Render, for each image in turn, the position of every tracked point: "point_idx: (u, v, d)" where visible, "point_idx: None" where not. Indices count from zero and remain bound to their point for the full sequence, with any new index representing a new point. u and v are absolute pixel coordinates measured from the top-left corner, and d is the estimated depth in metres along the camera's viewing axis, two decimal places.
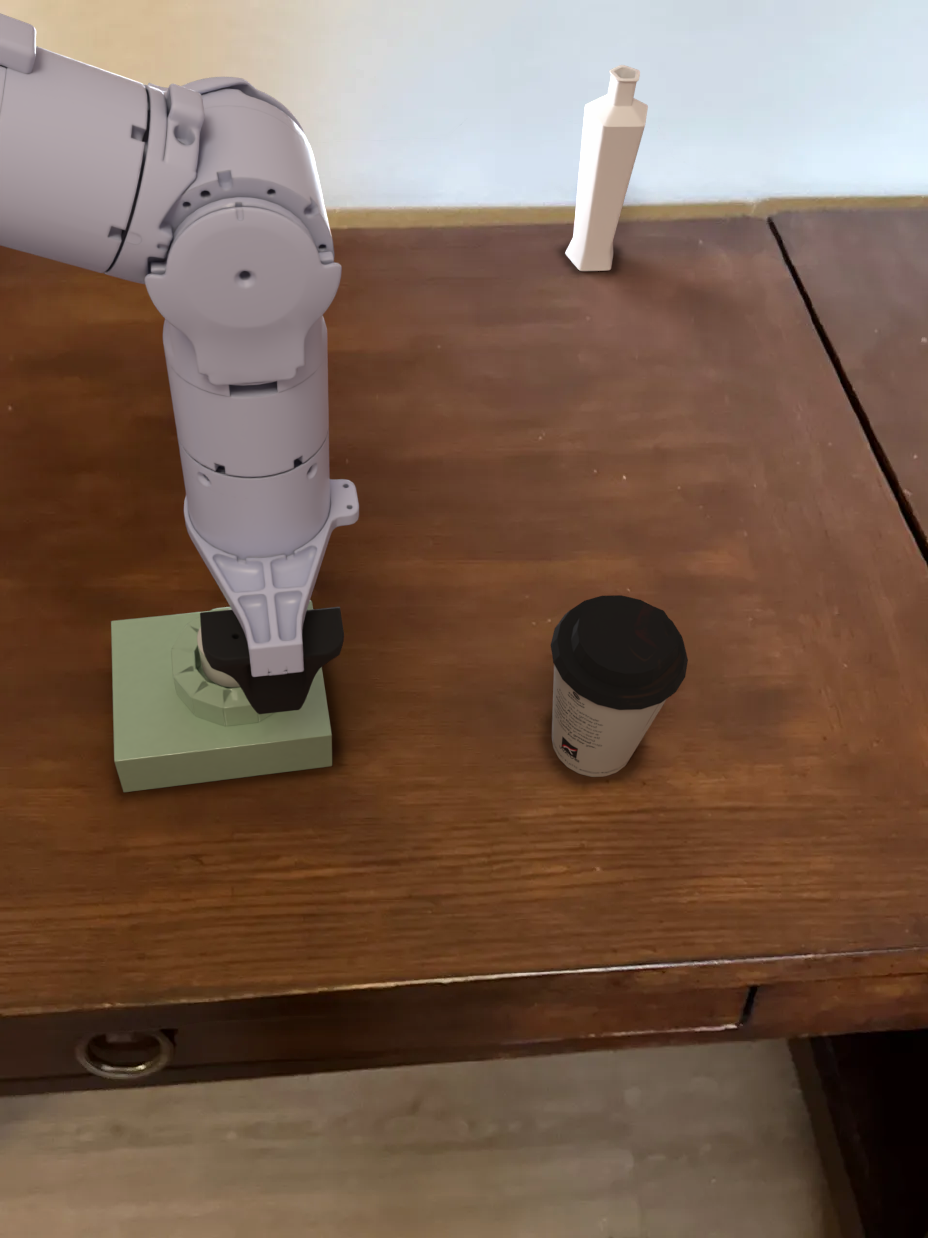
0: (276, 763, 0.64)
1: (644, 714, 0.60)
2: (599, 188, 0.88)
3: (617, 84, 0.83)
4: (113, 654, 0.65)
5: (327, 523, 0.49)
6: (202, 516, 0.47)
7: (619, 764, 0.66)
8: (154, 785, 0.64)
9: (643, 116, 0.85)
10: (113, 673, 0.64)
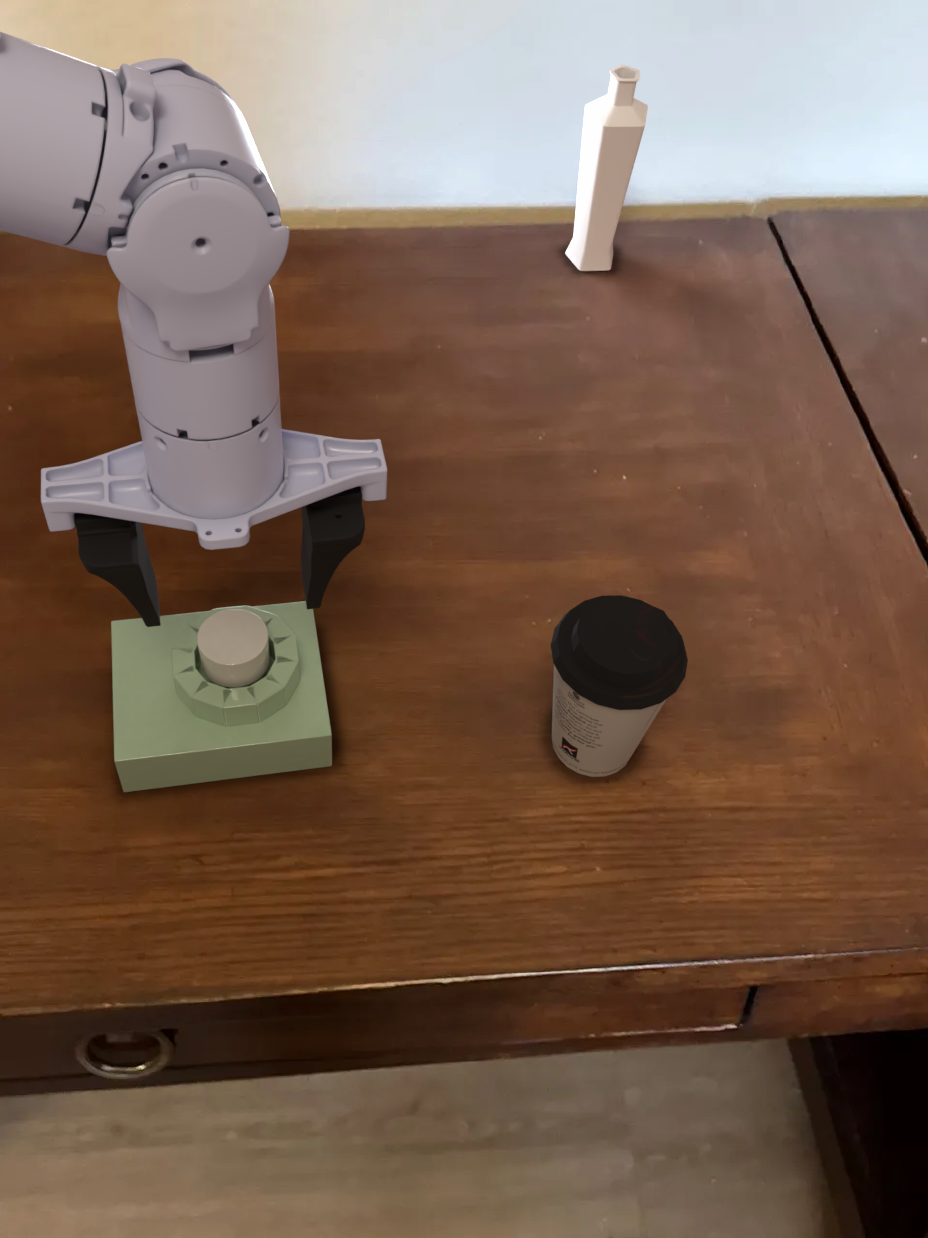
0: (276, 763, 0.64)
1: (644, 714, 0.60)
2: (599, 188, 0.88)
3: (617, 84, 0.83)
4: (113, 654, 0.65)
5: (187, 517, 0.50)
6: None
7: (619, 764, 0.66)
8: (154, 785, 0.64)
9: (643, 116, 0.85)
10: (113, 673, 0.64)
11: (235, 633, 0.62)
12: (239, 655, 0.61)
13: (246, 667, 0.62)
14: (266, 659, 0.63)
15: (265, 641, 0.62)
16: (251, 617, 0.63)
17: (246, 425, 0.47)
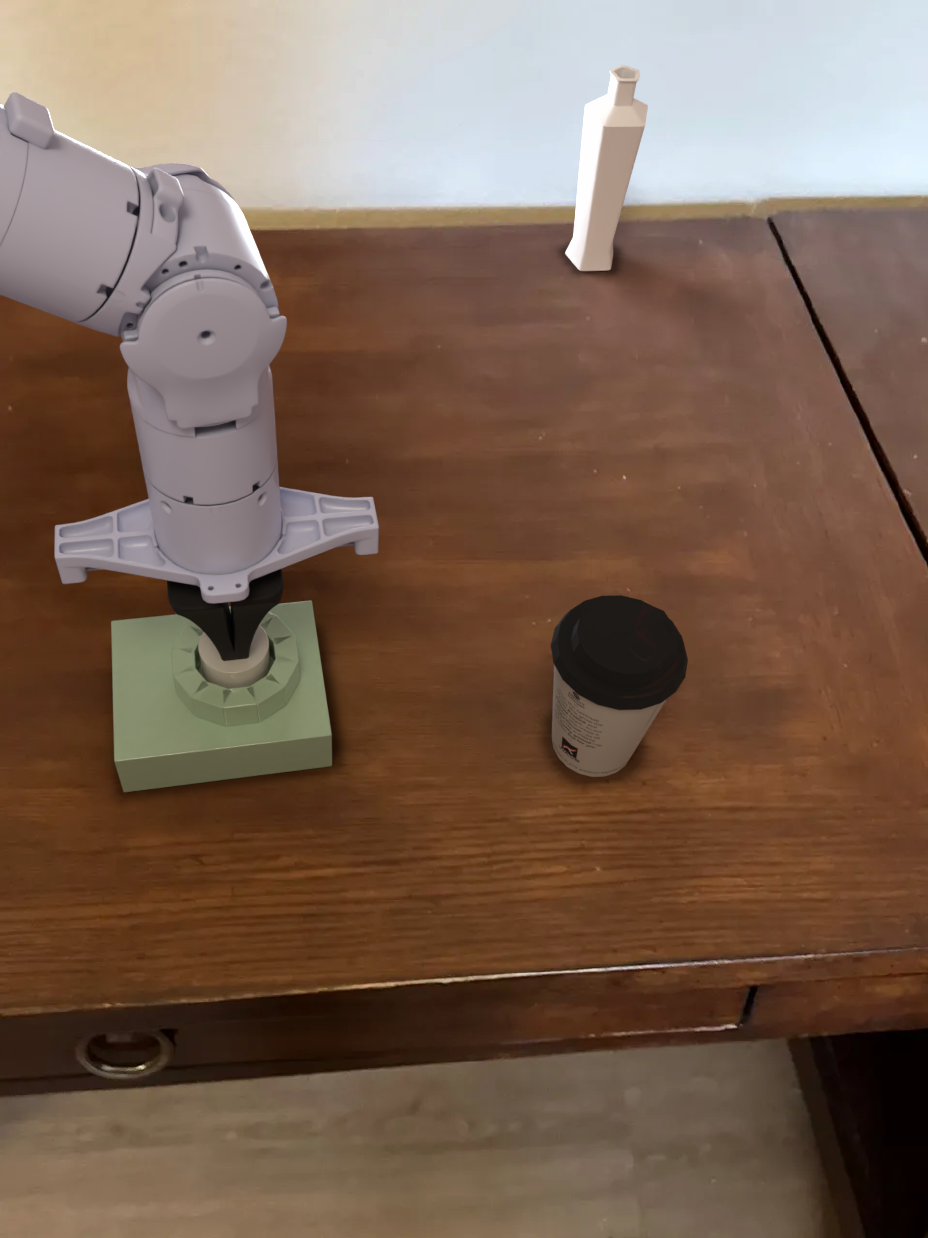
0: (276, 763, 0.64)
1: (644, 714, 0.60)
2: (599, 188, 0.88)
3: (617, 84, 0.83)
4: (113, 654, 0.65)
5: (191, 572, 0.54)
6: None
7: (619, 764, 0.66)
8: (154, 785, 0.64)
9: (643, 116, 0.85)
10: (113, 673, 0.64)
11: None
12: (240, 663, 0.62)
13: (247, 675, 0.62)
14: (267, 667, 0.63)
15: (265, 649, 0.63)
16: None
17: (247, 490, 0.50)
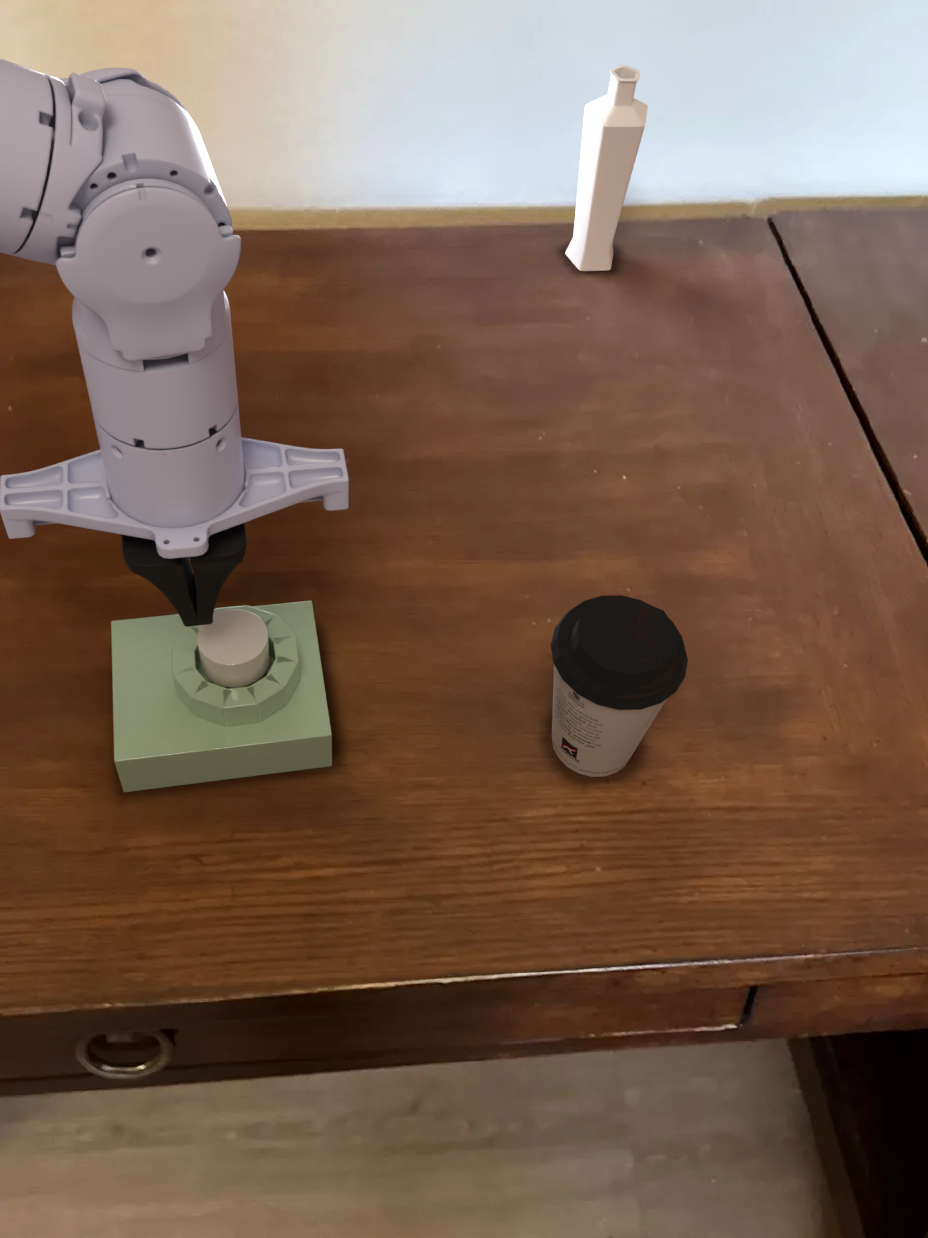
0: (276, 763, 0.64)
1: (644, 714, 0.60)
2: (599, 188, 0.88)
3: (617, 84, 0.83)
4: (113, 654, 0.65)
5: (145, 525, 0.50)
6: None
7: (619, 764, 0.66)
8: (154, 785, 0.64)
9: (643, 116, 0.85)
10: (113, 673, 0.64)
11: (235, 633, 0.62)
12: (239, 655, 0.61)
13: (246, 667, 0.62)
14: (266, 659, 0.63)
15: (265, 641, 0.62)
16: (251, 617, 0.63)
17: (203, 434, 0.47)
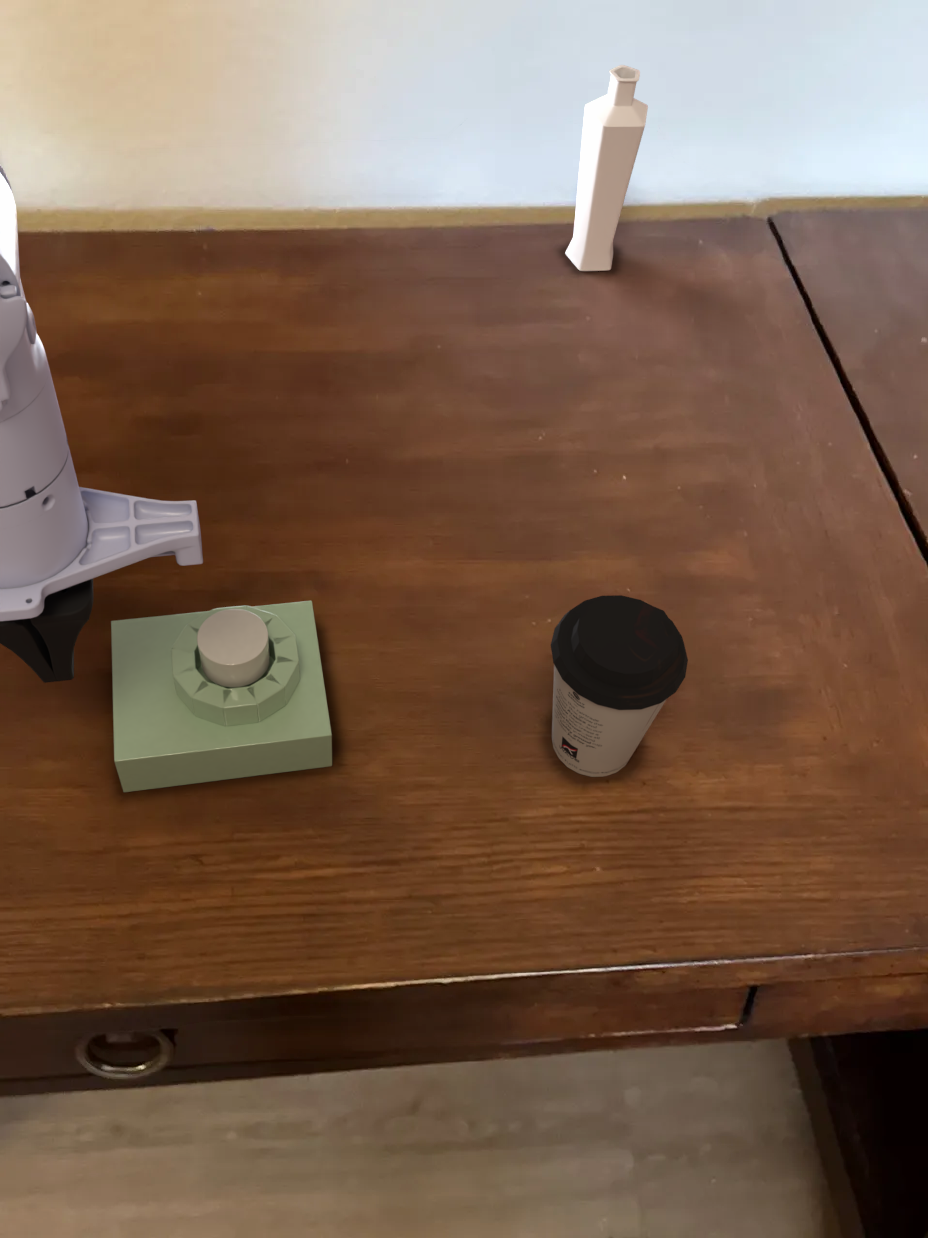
0: (276, 763, 0.64)
1: (644, 714, 0.60)
2: (599, 188, 0.88)
3: (617, 84, 0.83)
4: (113, 654, 0.65)
5: None
6: None
7: (619, 764, 0.66)
8: (154, 785, 0.64)
9: (643, 116, 0.85)
10: (113, 673, 0.64)
11: (235, 633, 0.62)
12: (239, 655, 0.61)
13: (246, 667, 0.62)
14: (266, 659, 0.63)
15: (265, 641, 0.62)
16: (251, 617, 0.63)
17: (18, 496, 0.44)
